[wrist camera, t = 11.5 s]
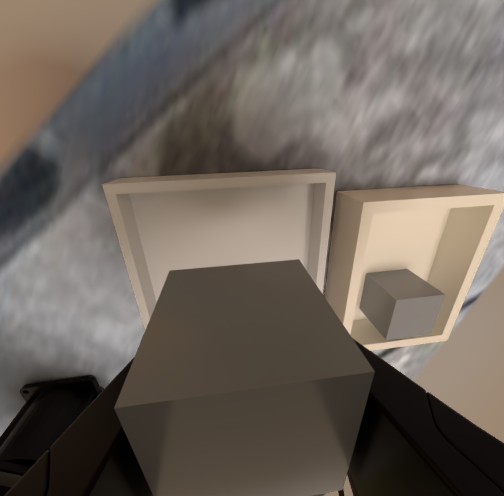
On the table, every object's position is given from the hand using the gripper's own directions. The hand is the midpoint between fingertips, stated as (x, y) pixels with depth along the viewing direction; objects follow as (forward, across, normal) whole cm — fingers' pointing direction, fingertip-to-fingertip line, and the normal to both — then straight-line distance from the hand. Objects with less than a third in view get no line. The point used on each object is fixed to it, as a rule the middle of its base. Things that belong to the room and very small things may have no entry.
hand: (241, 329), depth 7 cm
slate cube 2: (+1, 0, 0) cm, 1 cm away
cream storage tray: (+12, -14, +5) cm, 19 cm away
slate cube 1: (+11, -14, +8) cm, 19 cm away
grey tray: (+12, 0, +7) cm, 14 cm away
